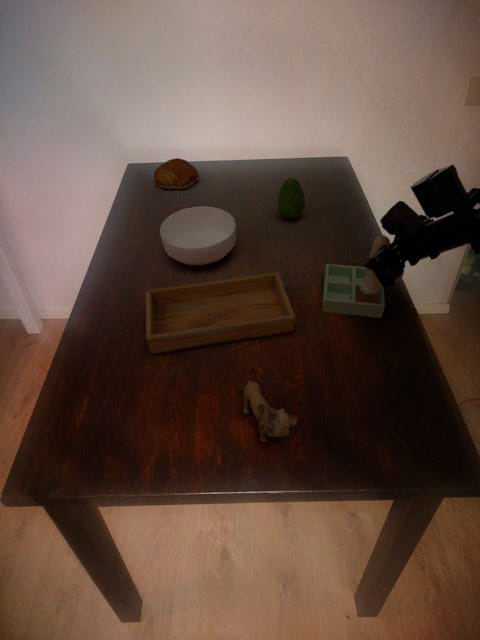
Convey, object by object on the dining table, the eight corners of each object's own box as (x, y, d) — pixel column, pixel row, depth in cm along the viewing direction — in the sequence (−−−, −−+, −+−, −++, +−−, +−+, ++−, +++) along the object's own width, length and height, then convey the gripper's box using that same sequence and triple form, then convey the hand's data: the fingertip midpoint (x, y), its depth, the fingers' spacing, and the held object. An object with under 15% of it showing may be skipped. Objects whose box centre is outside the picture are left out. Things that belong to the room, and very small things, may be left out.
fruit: (309, 220, 113) (313, 181, 105) (285, 227, 111) (287, 188, 103) (295, 207, 118) (297, 170, 110) (272, 214, 116) (273, 176, 108)
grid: (379, 280, 94) (382, 268, 91) (381, 318, 85) (385, 306, 82) (324, 274, 96) (326, 263, 93) (321, 311, 87) (323, 299, 85)
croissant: (150, 190, 135) (142, 169, 129) (181, 167, 141) (174, 147, 135) (178, 201, 128) (171, 179, 122) (209, 177, 134) (204, 155, 128)
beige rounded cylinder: (382, 291, 83) (398, 239, 73) (366, 296, 82) (380, 244, 72) (372, 280, 86) (386, 229, 76) (356, 285, 85) (368, 233, 75)
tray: (277, 288, 93) (278, 270, 89) (294, 333, 83) (295, 315, 79) (151, 307, 91) (145, 289, 86) (151, 356, 80) (145, 339, 76)
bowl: (238, 231, 111) (236, 204, 105) (236, 274, 97) (234, 247, 91) (171, 233, 112) (165, 207, 106) (160, 276, 98) (153, 249, 92)
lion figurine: (298, 442, 66) (302, 415, 59) (274, 459, 64) (275, 434, 57) (248, 384, 74) (247, 355, 68) (226, 398, 72) (222, 370, 66)
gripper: (440, 175, 70) (373, 210, 83) (391, 219, 61) (324, 250, 74) (468, 227, 71) (398, 253, 85) (425, 277, 62) (354, 297, 76)
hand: (370, 262), depth 80 cm, fingers closed on beige rounded cylinder, 3 cm apart
